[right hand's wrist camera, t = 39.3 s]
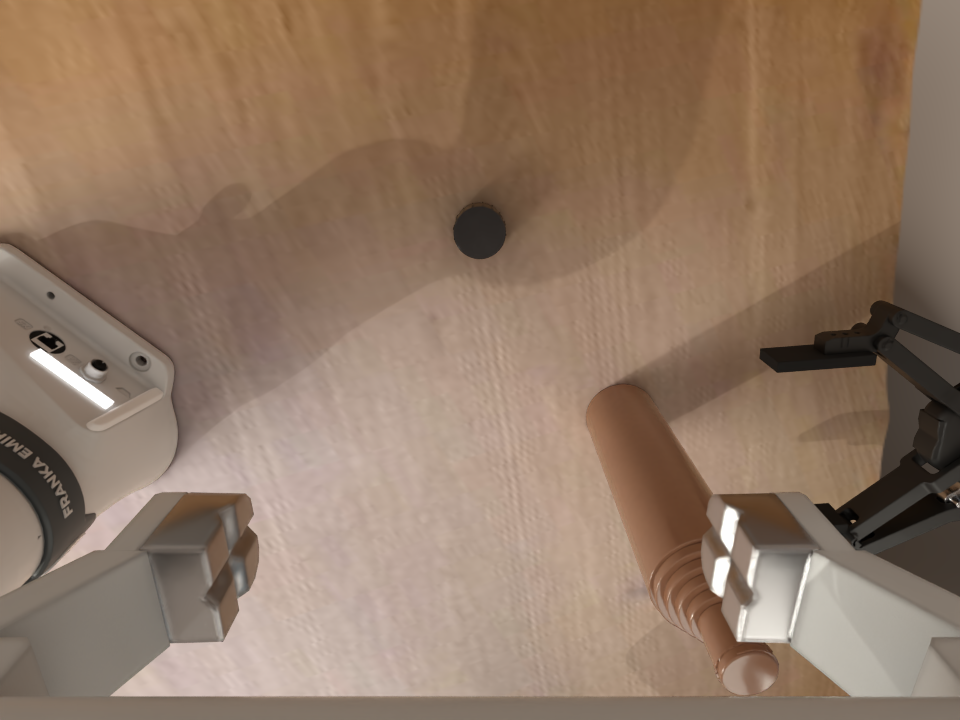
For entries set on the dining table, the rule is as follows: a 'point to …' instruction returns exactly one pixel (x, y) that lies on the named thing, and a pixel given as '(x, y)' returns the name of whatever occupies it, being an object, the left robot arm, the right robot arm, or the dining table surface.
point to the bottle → (670, 529)
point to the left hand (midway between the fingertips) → (759, 446)
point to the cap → (479, 230)
